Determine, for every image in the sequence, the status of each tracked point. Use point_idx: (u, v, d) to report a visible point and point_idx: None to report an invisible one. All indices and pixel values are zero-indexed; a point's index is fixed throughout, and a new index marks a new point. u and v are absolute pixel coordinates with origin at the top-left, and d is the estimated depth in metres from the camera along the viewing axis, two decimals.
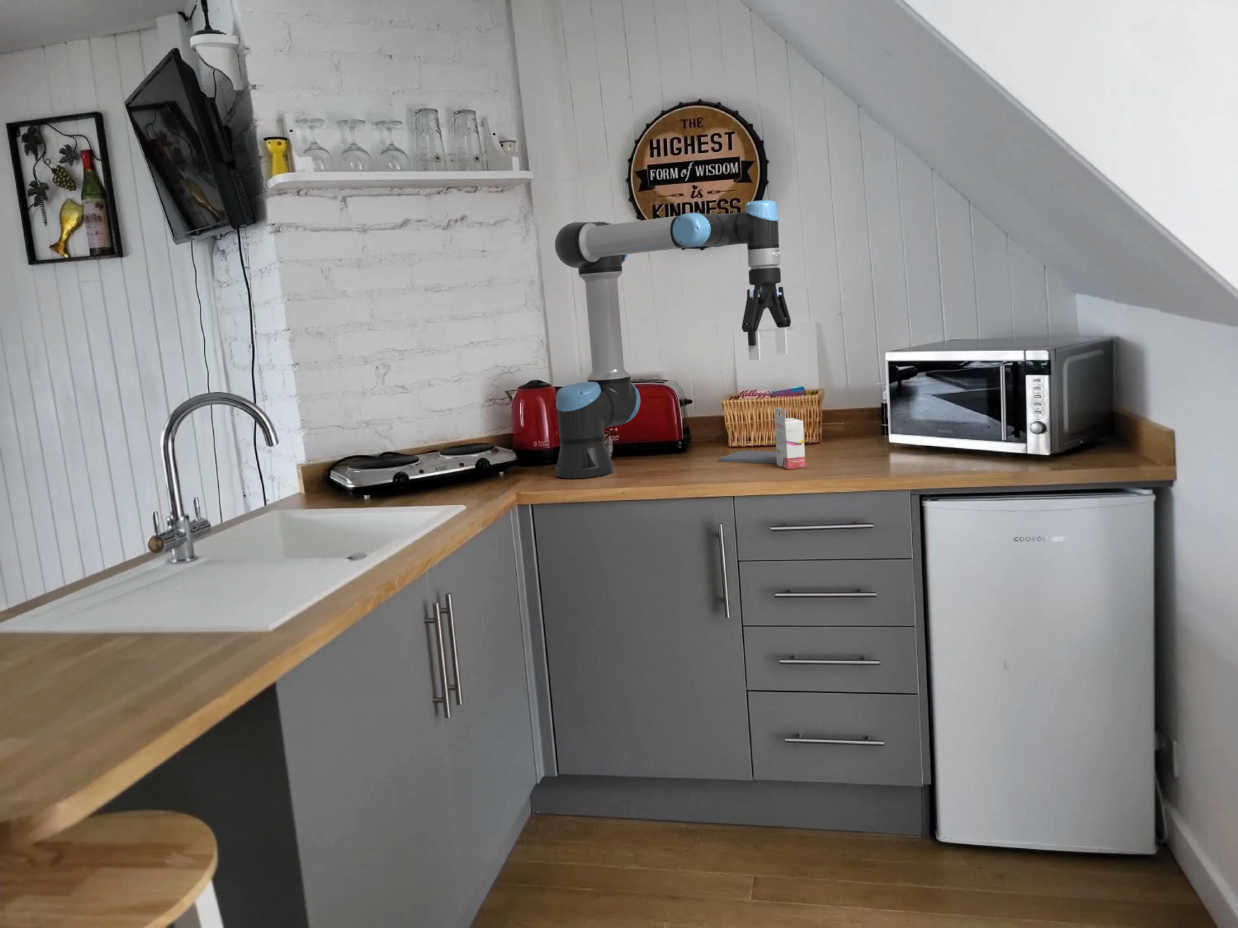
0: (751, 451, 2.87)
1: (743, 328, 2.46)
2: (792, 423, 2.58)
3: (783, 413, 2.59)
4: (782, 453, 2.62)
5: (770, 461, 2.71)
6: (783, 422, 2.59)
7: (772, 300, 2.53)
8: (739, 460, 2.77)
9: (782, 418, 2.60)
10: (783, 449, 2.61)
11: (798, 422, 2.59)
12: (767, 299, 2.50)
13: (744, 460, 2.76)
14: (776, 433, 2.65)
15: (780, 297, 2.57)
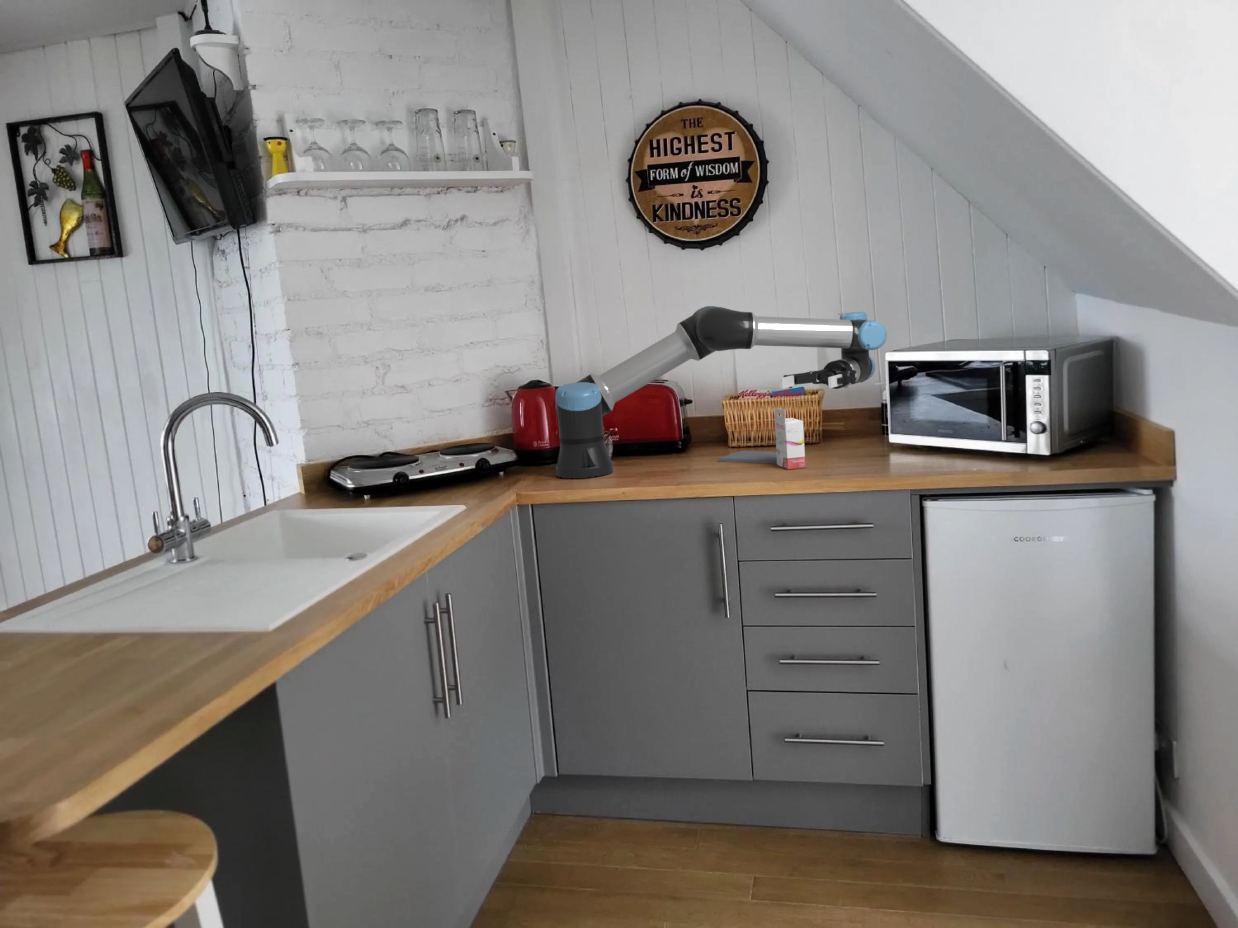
0: (751, 451, 2.87)
1: (854, 375, 2.69)
2: (792, 423, 2.58)
3: (783, 413, 2.59)
4: (782, 453, 2.62)
5: (770, 461, 2.71)
6: (783, 422, 2.59)
7: None
8: (739, 460, 2.77)
9: (782, 418, 2.60)
10: (783, 449, 2.61)
11: (798, 422, 2.59)
12: None
13: (744, 460, 2.76)
14: (776, 433, 2.65)
15: None
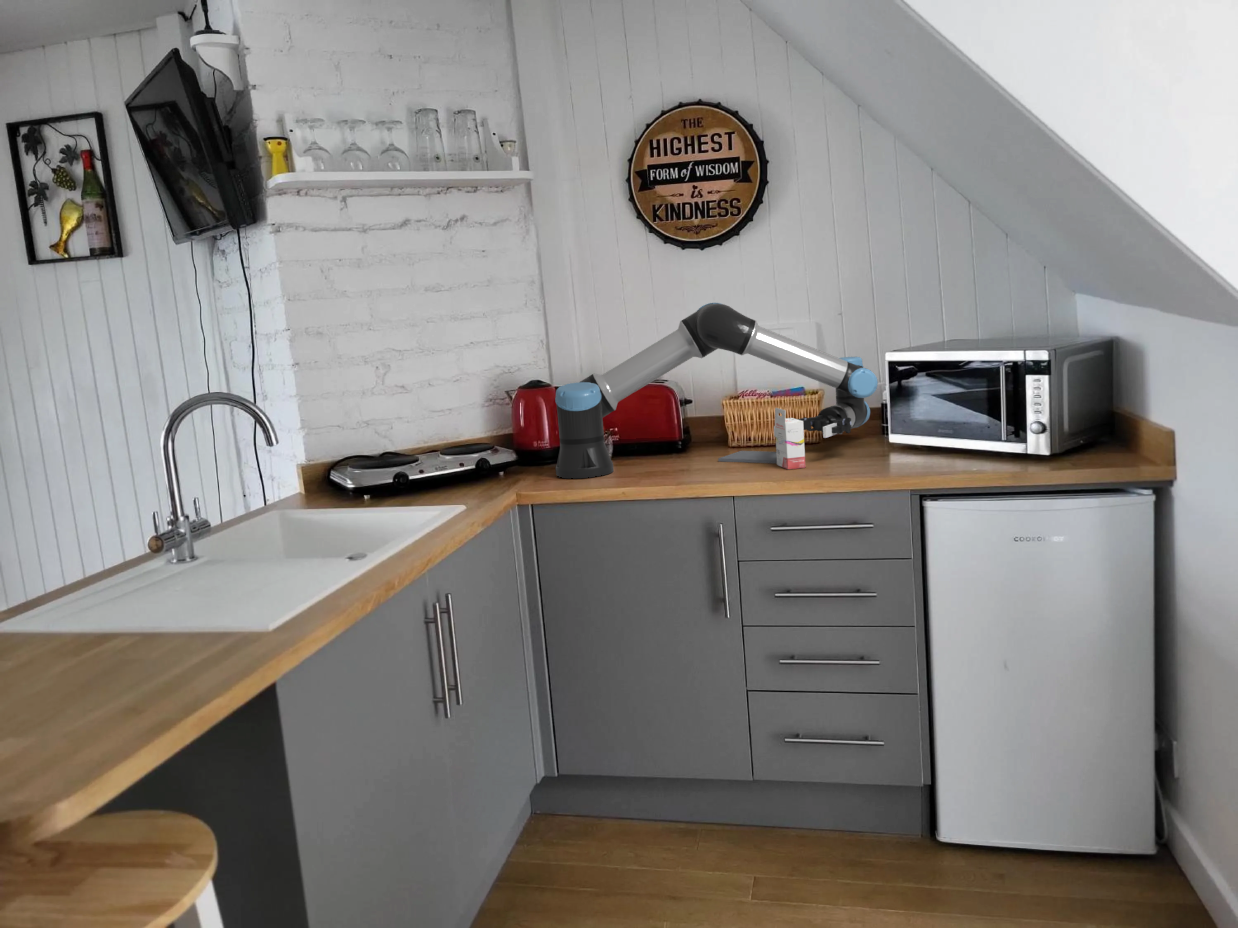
0: (751, 451, 2.87)
1: (849, 424, 2.65)
2: (792, 423, 2.58)
3: (783, 413, 2.59)
4: (782, 453, 2.62)
5: (770, 461, 2.71)
6: (783, 422, 2.59)
7: None
8: (739, 460, 2.77)
9: (782, 418, 2.60)
10: (783, 449, 2.61)
11: (798, 422, 2.59)
12: None
13: (744, 460, 2.76)
14: (776, 433, 2.65)
15: None
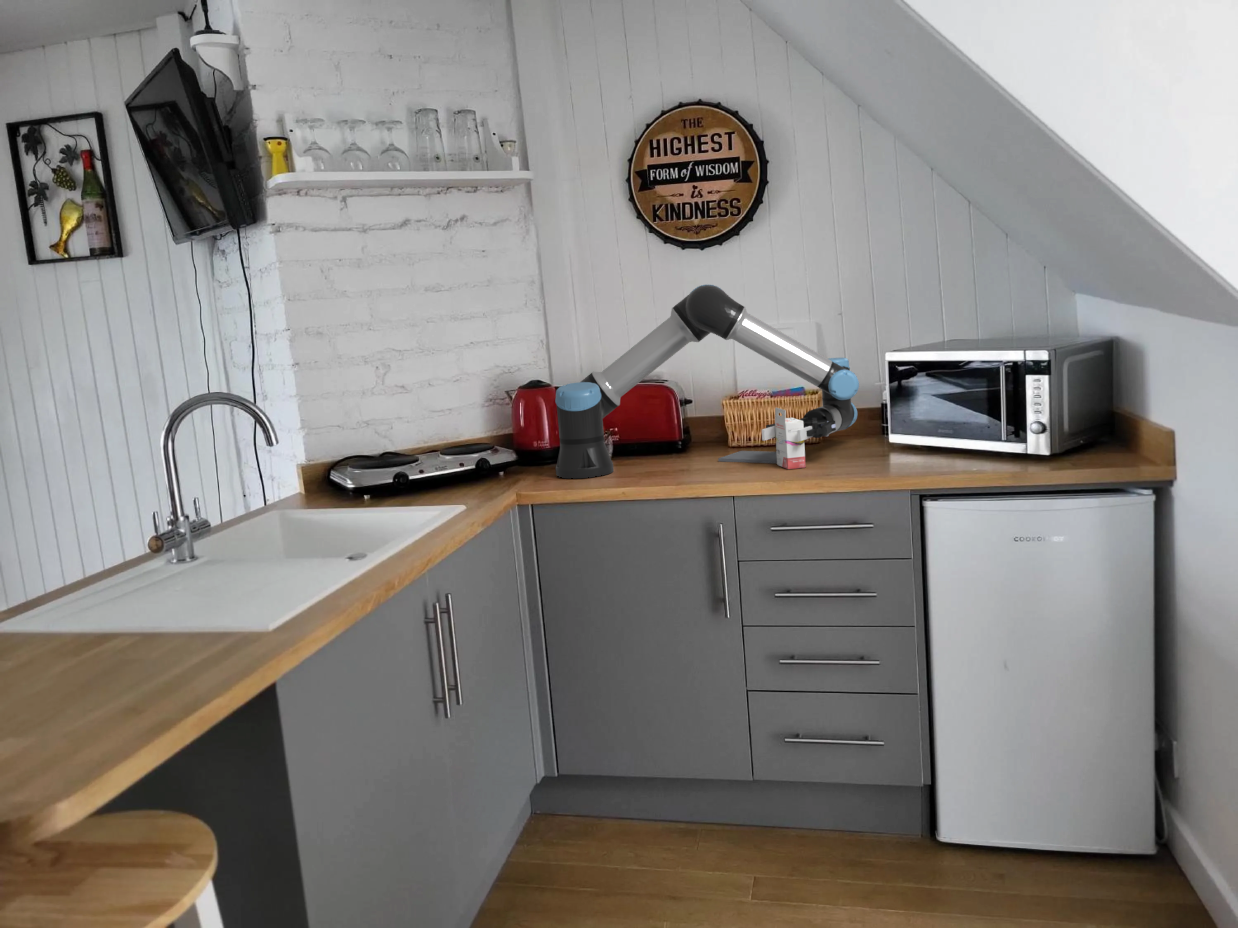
0: (751, 451, 2.87)
1: (824, 427, 2.60)
2: (792, 423, 2.58)
3: (783, 413, 2.59)
4: (782, 453, 2.62)
5: (770, 461, 2.71)
6: (783, 422, 2.59)
7: None
8: (739, 460, 2.77)
9: (782, 418, 2.60)
10: (783, 449, 2.61)
11: (798, 422, 2.59)
12: None
13: (744, 460, 2.76)
14: (776, 433, 2.65)
15: None
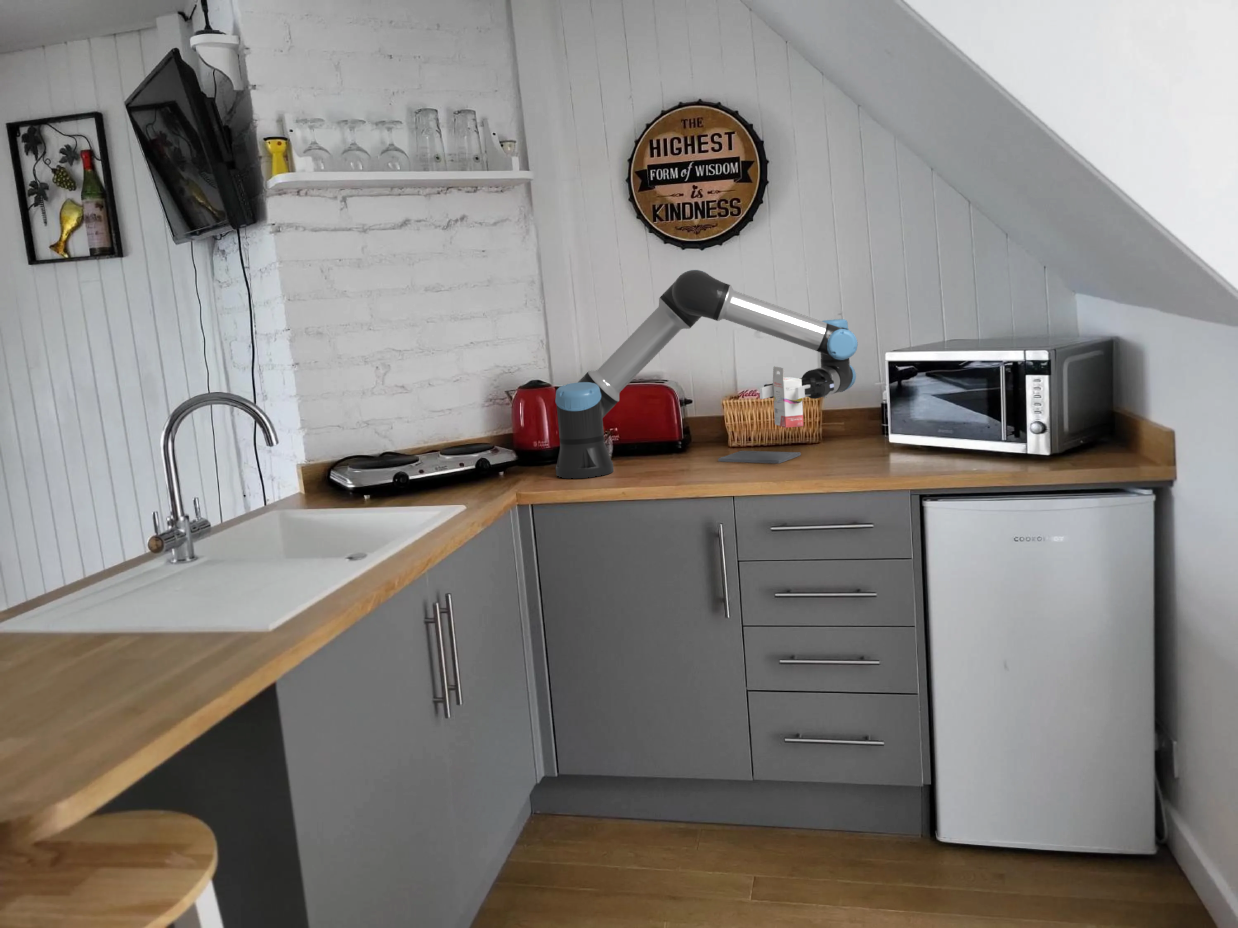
0: (751, 451, 2.87)
1: (822, 386, 2.59)
2: (790, 381, 2.57)
3: (781, 371, 2.57)
4: (780, 411, 2.61)
5: (770, 461, 2.71)
6: (781, 380, 2.58)
7: None
8: (739, 460, 2.77)
9: (780, 376, 2.58)
10: (781, 407, 2.60)
11: (796, 380, 2.57)
12: None
13: (744, 460, 2.76)
14: (774, 392, 2.64)
15: None
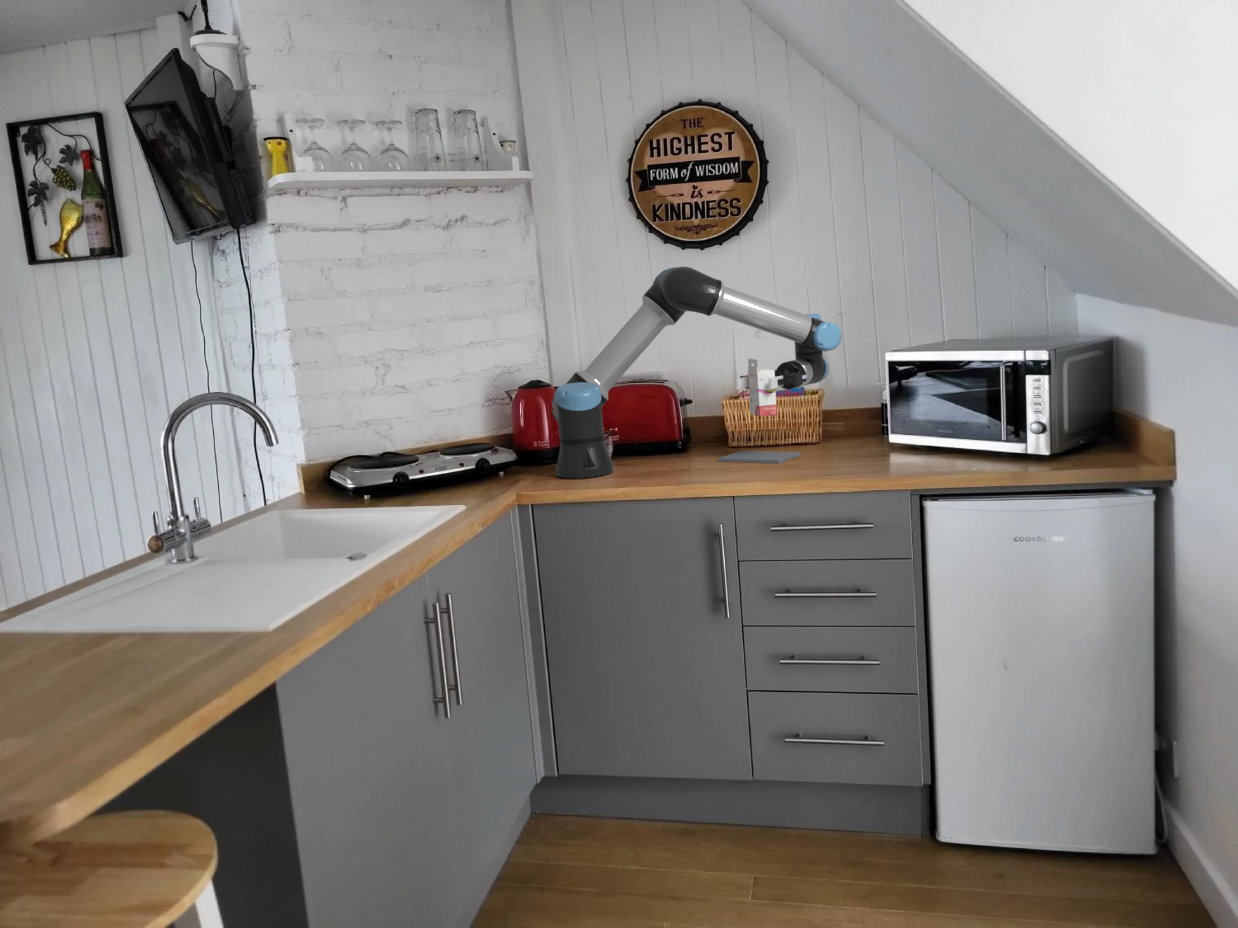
0: (751, 451, 2.87)
1: (794, 377, 2.73)
2: (764, 372, 2.71)
3: (755, 363, 2.71)
4: (755, 401, 2.75)
5: (770, 461, 2.71)
6: (755, 371, 2.72)
7: None
8: (739, 460, 2.77)
9: (754, 367, 2.72)
10: (755, 397, 2.74)
11: (770, 371, 2.71)
12: None
13: (744, 460, 2.76)
14: (749, 383, 2.78)
15: None
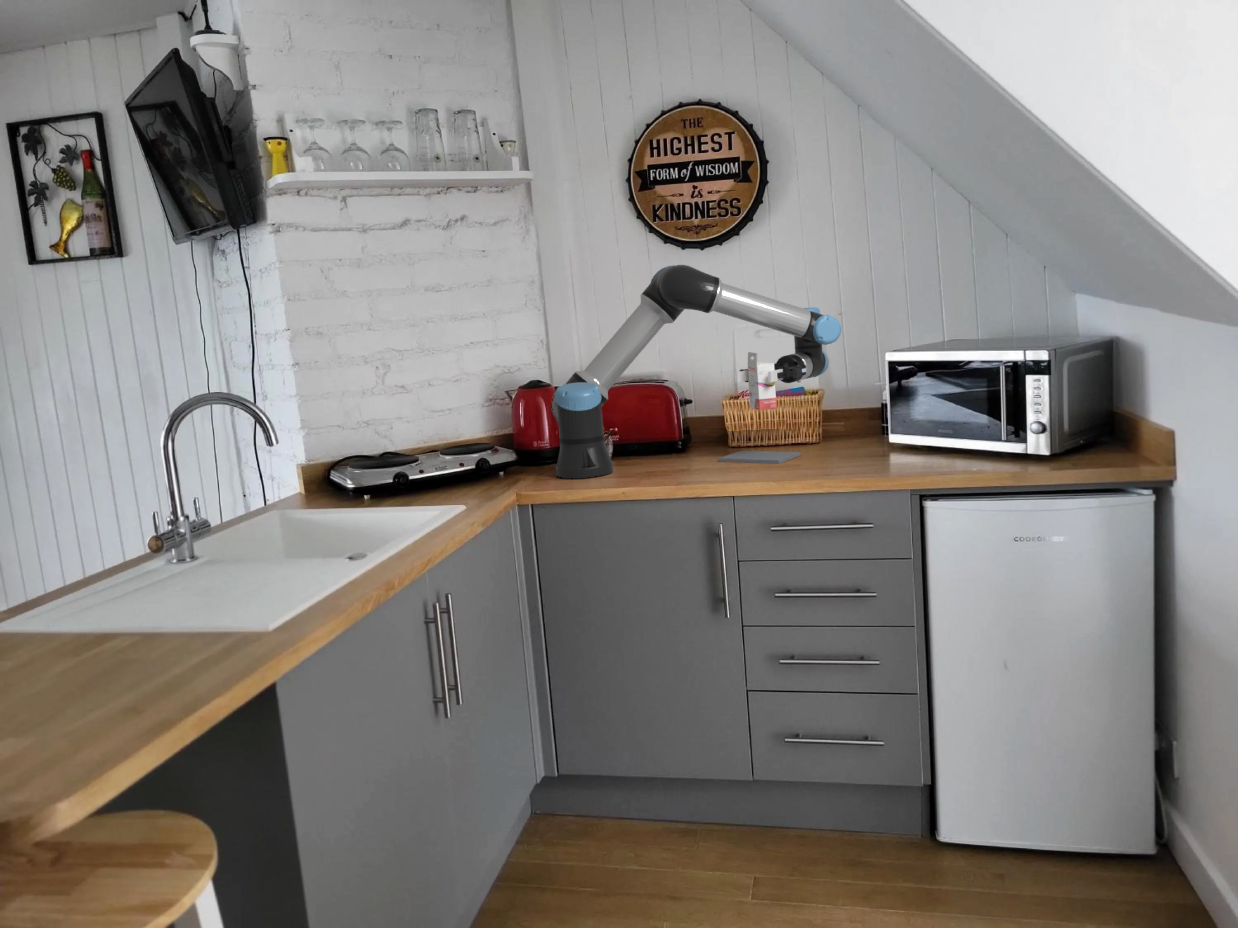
0: (751, 451, 2.87)
1: (794, 370, 2.72)
2: (763, 365, 2.70)
3: (755, 356, 2.71)
4: (754, 395, 2.74)
5: (770, 461, 2.71)
6: (755, 365, 2.71)
7: None
8: (739, 460, 2.77)
9: (754, 361, 2.72)
10: (755, 391, 2.73)
11: (769, 364, 2.71)
12: None
13: (744, 460, 2.76)
14: (749, 376, 2.77)
15: None
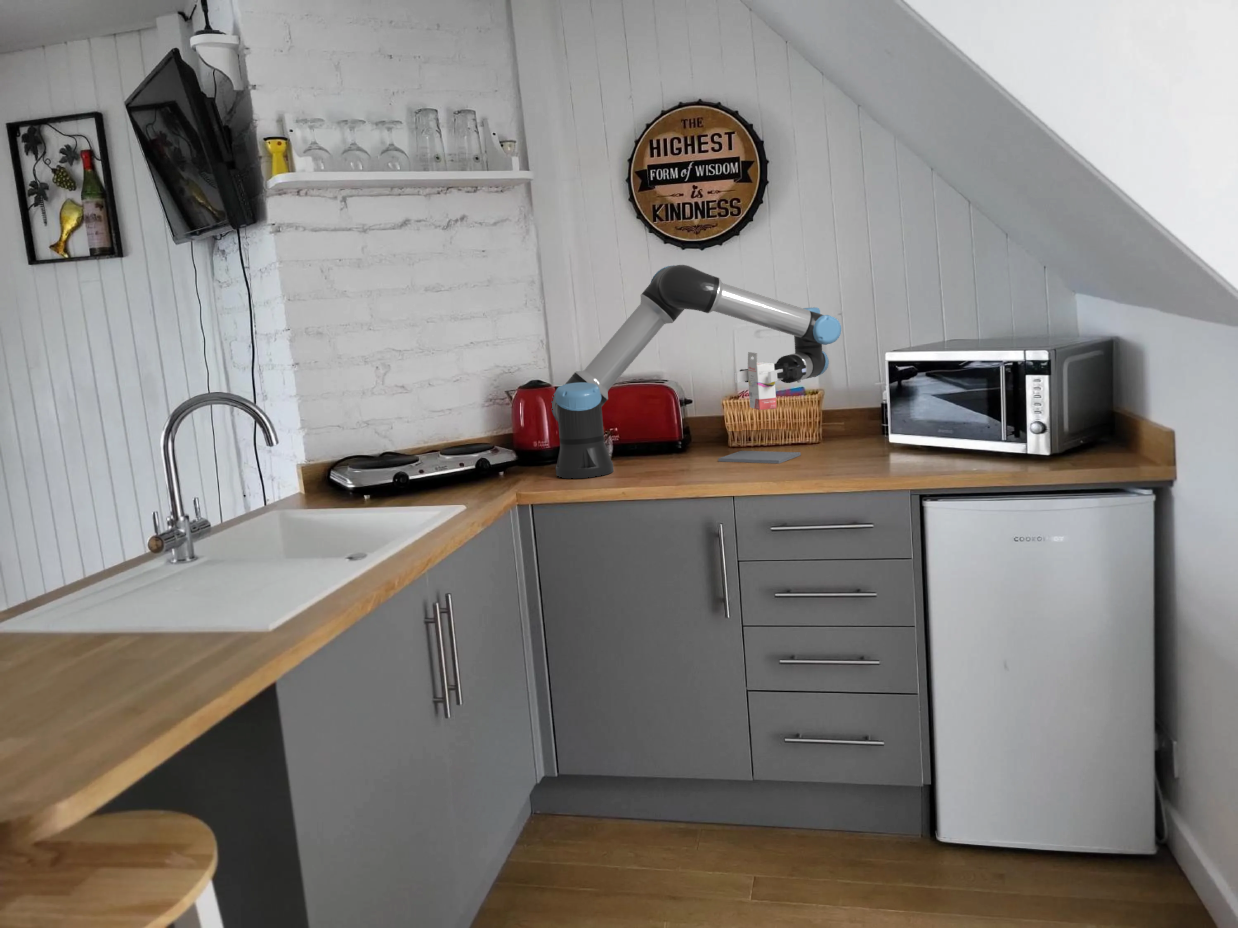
0: (751, 451, 2.87)
1: (794, 370, 2.72)
2: (763, 365, 2.70)
3: (755, 356, 2.71)
4: (754, 394, 2.74)
5: (770, 461, 2.71)
6: (755, 365, 2.71)
7: None
8: (739, 460, 2.77)
9: (754, 361, 2.72)
10: (755, 391, 2.73)
11: (769, 364, 2.71)
12: None
13: (744, 460, 2.76)
14: (749, 376, 2.77)
15: None
